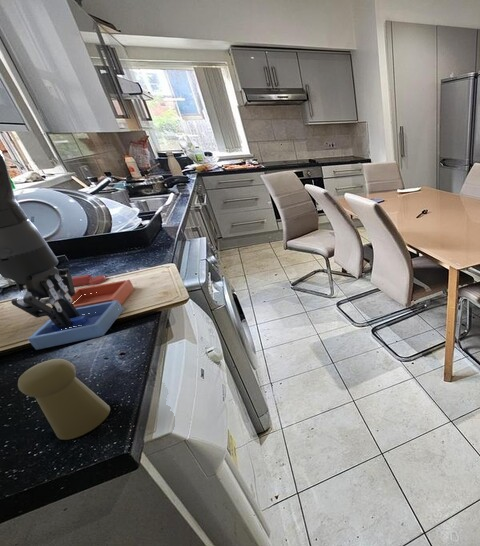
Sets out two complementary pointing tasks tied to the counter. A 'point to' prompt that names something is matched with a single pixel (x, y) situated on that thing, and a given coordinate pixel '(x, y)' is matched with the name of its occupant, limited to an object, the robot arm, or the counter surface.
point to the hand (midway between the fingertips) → (69, 322)
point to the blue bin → (51, 338)
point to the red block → (87, 280)
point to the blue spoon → (78, 322)
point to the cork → (63, 398)
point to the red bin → (102, 293)
